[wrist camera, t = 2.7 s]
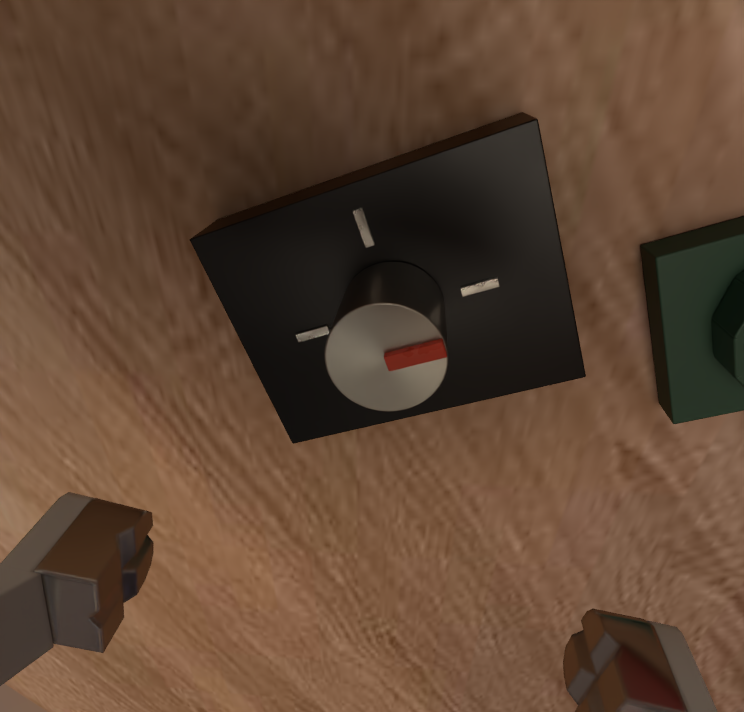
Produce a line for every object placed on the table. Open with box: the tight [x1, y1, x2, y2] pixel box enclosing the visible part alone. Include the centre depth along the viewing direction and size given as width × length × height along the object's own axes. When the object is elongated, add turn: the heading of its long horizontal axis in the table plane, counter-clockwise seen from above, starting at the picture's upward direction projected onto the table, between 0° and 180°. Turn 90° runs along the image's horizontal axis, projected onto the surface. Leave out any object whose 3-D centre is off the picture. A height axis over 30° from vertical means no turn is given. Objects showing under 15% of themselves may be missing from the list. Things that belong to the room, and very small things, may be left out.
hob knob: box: [324, 262, 448, 411], centre depth 19 cm, size 4×4×4 cm
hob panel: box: [190, 112, 586, 443], centre depth 22 cm, size 13×10×3 cm
